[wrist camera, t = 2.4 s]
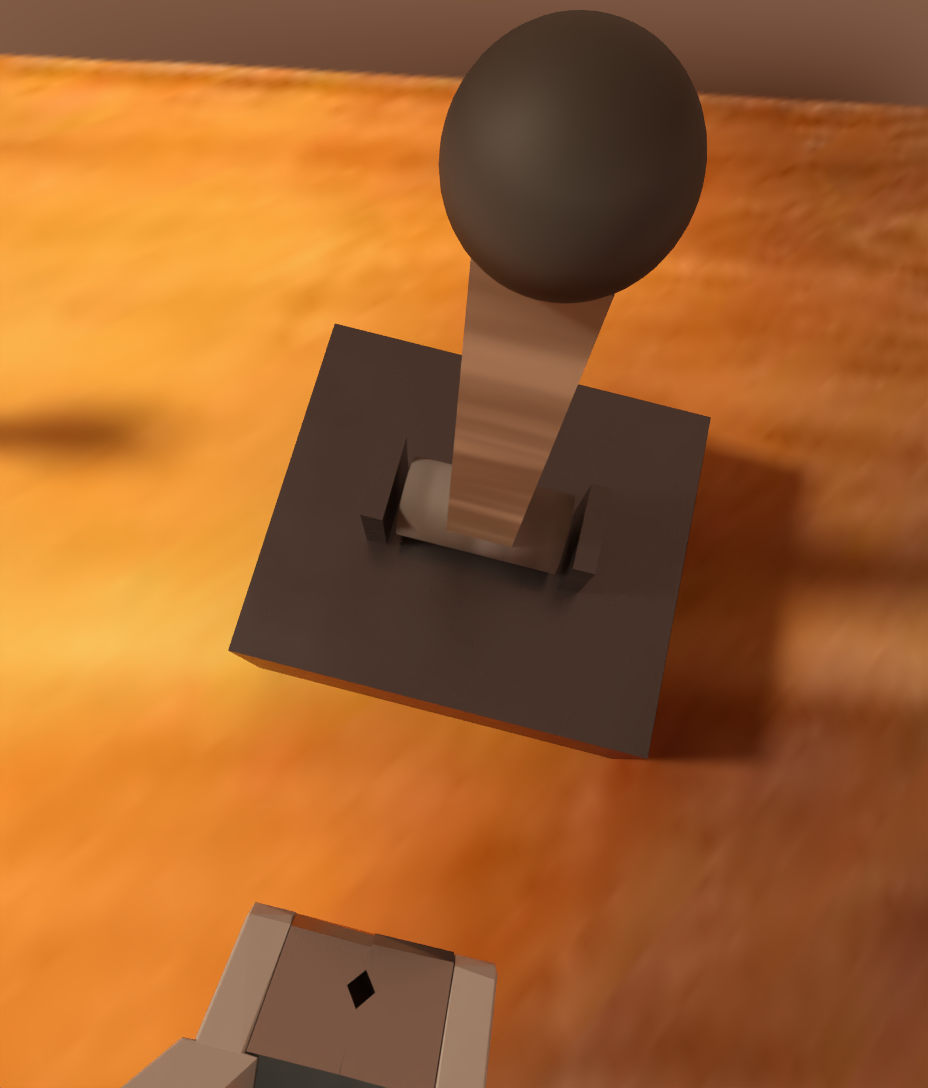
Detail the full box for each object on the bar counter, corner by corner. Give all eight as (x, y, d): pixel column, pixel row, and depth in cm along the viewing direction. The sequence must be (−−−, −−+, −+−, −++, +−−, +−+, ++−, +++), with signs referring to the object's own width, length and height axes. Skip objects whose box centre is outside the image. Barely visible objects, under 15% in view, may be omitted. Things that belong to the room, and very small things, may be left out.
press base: (611, 758, 36) (674, 758, 27) (259, 667, 36) (204, 637, 27) (668, 467, 40) (741, 380, 30) (348, 386, 40) (325, 277, 31)
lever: (546, 594, 31) (803, 245, 10) (393, 555, 31) (326, 128, 10) (568, 497, 32) (844, -6, 11) (420, 460, 32) (410, -110, 11)
